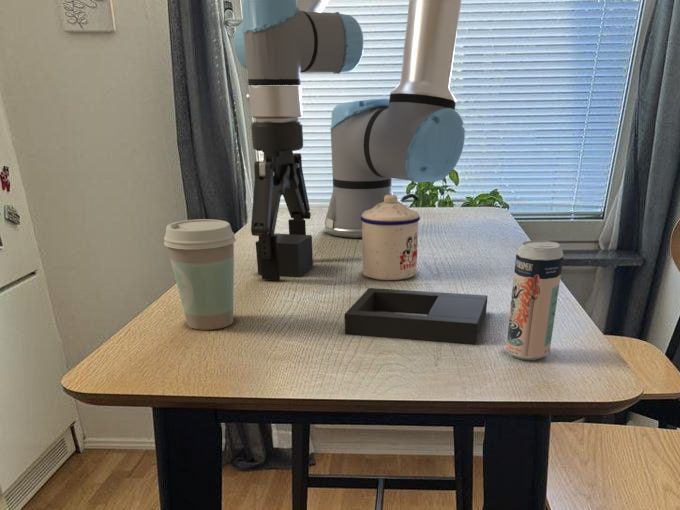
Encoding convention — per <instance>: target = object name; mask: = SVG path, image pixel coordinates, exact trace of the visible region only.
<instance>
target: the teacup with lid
mask: <svg viewBox="0 0 680 510" xmlns="http://www.w3.org/2000/svg"><path fill="white" fill-rule="evenodd" d="M397 200H398V196H397V195H396V194H393V195H385V197H384V202H382V203H379V204H377V205H376V206H375V207H373V208H372V209H369V210H366V211H364V212H363V213H362V215H361V220H362V238H361V239H362V241H361V244H362V245H361V247H362V250H361V255H362V260H361V261H362V268H361V269H362V270H361V271H362V274H363V275H364V276H365V277H367V278H368V279H369V278H370V279H373V280H379V281H401V280H407V279H411V278H412V277H414V276H416V274H417V272H418V271H417V269H418V266H417V265H418V247H419V246H418V242H419V221H420V220H421V217H420V213H419V212H418V211H417V210H414V209H411V208H409V207H408V206H407V205H405V203H404V204H402V203H403V202H402V203H399V202H397Z"/></svg>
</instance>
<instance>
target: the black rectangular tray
mask: <svg viewBox="0 0 680 510" xmlns="http://www.w3.org/2000/svg"><path fill="white" fill-rule="evenodd" d="M487 305H488V295H486V294H485V295H484V294H471V293H457V292H455V293H454V292H438V291H426V290H425V291H424V290H409V289H407V290H406V289H395V288H393V289H392V288H377V287H368V288H367V289H366V290H365V291H364V292H363V293H362V295H360V297H359V298H358V299H357V300H356V301H355V302H354V303H353V304H352V305H351V307H349V309H348V310H347V311H346V312H345V313H344V334H345V335H355V336H356V335H357V336H368V337H379V338H380V337H381V338H392V339H393V338H394V339H405V340H406V339H407V340H419V341H431V342H444V343H453V344H454V343H455V344H467V345H468V344H469V345H476V344H477V341H478V339H479V335H480V333H481V330H482V327H483V324H484V321H485V318H486V315H487ZM384 311H385V312H384ZM395 312H396V313H395ZM397 312H398V313H397ZM408 313H409V314H408ZM410 313H413V314H410Z"/></svg>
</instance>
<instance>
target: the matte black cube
mask: <svg viewBox="0 0 680 510" xmlns="http://www.w3.org/2000/svg"><path fill="white" fill-rule="evenodd" d="M274 235H277V241H278V256H279V271H280V277H294V278H295V277H296V278H300V277H301V276H302V275H304V274H305V273H306V272H308V271H309V270H310V269H312V268H313V267H314V257H313V254H314V253H313V236H312V235H311V234H306V235H296V234H289V233H275V232H274ZM255 253H256V265H257V274H258V275H261V276H262V274H261V261H260V249H259V240H257V241H255Z"/></svg>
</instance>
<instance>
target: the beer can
mask: <svg viewBox="0 0 680 510" xmlns="http://www.w3.org/2000/svg"><path fill="white" fill-rule="evenodd" d="M563 263H564V252H563V249H562V245H561V243H558V242H556V241H552V240H551V241H550V240H538V239H536V240H527V241H524V242H522V243H521V244H520V247H519V248H518V249H517V251H516V255H515V262H514V273H513V283H512V291H511V300H510V308H509V316H508V317H509V318H508V326H507V337H506V343H505V344H506V345H505V350H506V352H507V353H508V354H509V355H510V356H512V357H513V358H514V359H515V358H516V359H518V360H523V361H536V360H541V359H543V358H545V357H547V356H548V355H549V354H550V351H551V345H552V337H553V332H554V325H555V317H556V311H557V304H558V297H559V292H560V291H559V289H560V283H561V275H562V270H563V269H562V268H563Z"/></svg>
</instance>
